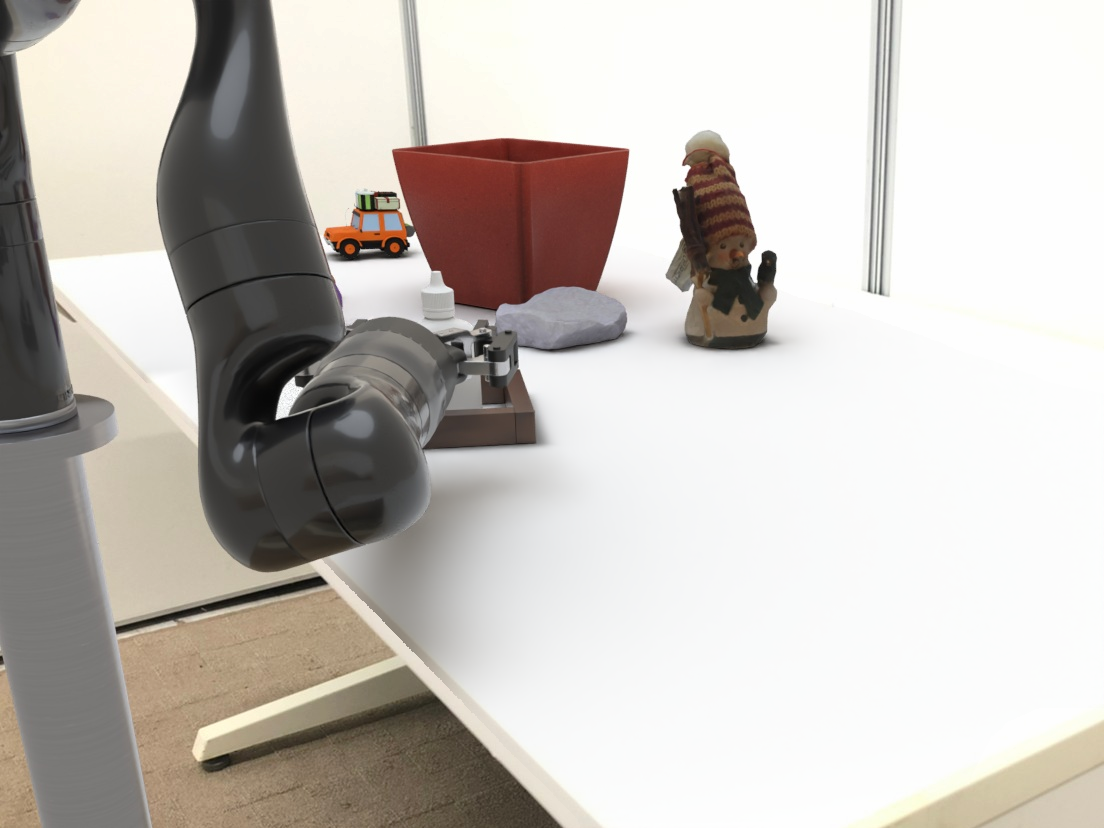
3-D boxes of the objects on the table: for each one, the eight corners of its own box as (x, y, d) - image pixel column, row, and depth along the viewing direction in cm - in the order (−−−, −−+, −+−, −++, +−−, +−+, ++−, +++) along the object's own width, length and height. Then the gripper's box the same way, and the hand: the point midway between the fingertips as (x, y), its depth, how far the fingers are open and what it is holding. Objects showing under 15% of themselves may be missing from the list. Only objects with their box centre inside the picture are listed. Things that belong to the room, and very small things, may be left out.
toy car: (423, 256, 172) (418, 189, 169) (334, 262, 166) (327, 192, 163) (408, 248, 177) (403, 183, 174) (321, 254, 172) (314, 186, 168)
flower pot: (529, 325, 134) (522, 160, 128) (399, 303, 143) (386, 147, 137) (635, 297, 149) (634, 147, 143) (512, 278, 158) (505, 137, 152)
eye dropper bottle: (420, 414, 103) (409, 265, 99) (488, 417, 103) (479, 268, 98) (403, 429, 99) (390, 275, 95) (473, 432, 99) (463, 278, 94)
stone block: (634, 348, 133) (559, 317, 136) (640, 305, 130) (563, 275, 134) (565, 376, 123) (486, 342, 127) (570, 330, 121) (489, 297, 125)
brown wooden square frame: (359, 452, 94) (356, 419, 93) (363, 404, 105) (360, 375, 104) (536, 442, 97) (534, 411, 96) (521, 397, 108) (519, 368, 107)
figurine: (632, 345, 127) (629, 135, 119) (671, 320, 138) (671, 127, 130) (762, 356, 124) (767, 141, 116) (791, 330, 135) (798, 132, 127)
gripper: (498, 331, 75) (521, 281, 90) (253, 331, 74) (318, 280, 89) (504, 451, 78) (526, 383, 93) (269, 452, 77) (329, 383, 92)
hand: (424, 333), depth 91 cm, fingers open, 8 cm apart
